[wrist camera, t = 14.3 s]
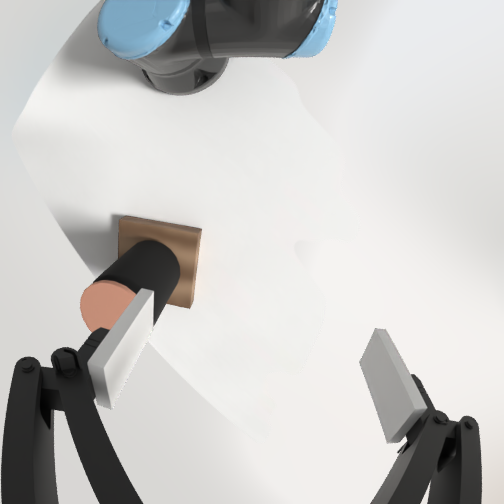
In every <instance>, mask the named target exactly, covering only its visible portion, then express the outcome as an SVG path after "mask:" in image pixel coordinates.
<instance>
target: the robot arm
mask: <svg viewBox="0 0 504 504" xmlns="http://www.w3.org/2000/svg"><path fill="white" fill-rule="evenodd" d="M337 3H338V0H106V1H105V2H104V4H103V6H102V8H101V11H100V14H99V17H98V23H97V29H98V35H99V38H100V40H101V42H102V43H103V45H104V46H105V47H106V48H108V49H109V50H110V51H112V53H114V54H115V56H117V57H119V58H121V59H122V58H123V59H125V60H127V61H129V62H131V63H133V64H135V65H137V66H139V67H141V68H142V71H143V73H144V75H145V77H146V79H147V80H148V81H149V82H150V83H151V84H152V85H153V86H154V87H156V88H157V89H159V90H161V91H163V92H165V93H168V94H172V95H189V94H194V93H197V92H200V91H202V90H204V89H206V88H207V87H209V86H210V85H212V84H213V83H214V82H215V81H216V80H217V79H218V78H219V77H220V76H221V75H222V73H223V72H224V70H225V68H226V66H227V63H228V60H229V57H276V58H283V59H284V58H286V59H287V58H290V57H312V56H315V55H317V54H318V53H320V52H321V51H322V50H323V48H324V47H325V46H326V44H327V42H328V40H329V38H330V36H331V33H332V30H333V27H334V24H335V19H336V16H335V11H336V9H337ZM153 306H154V291H152V290H147V289H143V288H141V290H140V291H139V292H138V293H137V295H136V296H135V297H134V299H133V300H132V301H131V303H130V304H129V305H128V307H127V308H126V309H125V311H124V312H123V313H122V315H121V316H120V317H119V319H118V320H117V321H116V323H115V324H114V326H113V327H112V328H111V330H109V329H106V328H102V327H100V328H98V329H96V330H95V331H93V332H92V333H91V335H90V336H89V337H88V339H87V340H86V341H85V342H84V344H83V345H82V346H81V348H80V349H79V350H78V352H77V351H76V350H74V349H72V348H69V347H63V348H60V349H57V350H56V351H54V352H53V354H52V355H51V362H52V365H53V368H49V367H41V365H40V363H39V361H38V360H37V359H35V358H34V357H24V358H21V359H20V360H19V361H18V362H17V363H16V365H15V368H14V373H13V378H12V383H11V388H10V393H9V398H8V404H7V411H6V418H5V426H4V435H3V446H2V464H1V496H2V497H1V498H2V504H59V503H58V495H57V487H56V475H55V459H54V410H59V411H64V412H65V415H66V419H67V422H68V425H69V428H70V431H71V435H72V438H73V441H74V444H75V446H76V449H77V452H78V455H79V457H80V460H81V462H82V465H83V468H84V470H85V472H86V475H87V477H88V480H89V482H90V484H91V486H92V489H93V491H94V493H95V495H96V497H97V499H98V501H99V503H100V504H143V502H142V501H141V499H140V497H139V496H138V494H137V492H136V491H135V489H134V487H133V485H132V484H131V482H130V480H129V478H128V476H127V474H126V472H125V471H124V469H123V467H122V465H121V463H120V461H119V459H118V457H117V455H116V453H115V451H114V449H113V446H112V444H111V442H110V440H109V437H108V435H107V433H106V431H105V428H104V426H103V424H102V421H101V419H100V416H99V414H98V412H97V409H96V406H95V404H94V399H95V397H96V401H97V404H98V405H101V406H103V407H106V408H109V409H113V407H114V405H115V403H116V401H117V399H118V397H119V395H120V393H121V391H122V389H123V386H124V384H125V383H126V381H127V379H128V377H129V375H130V373H131V371H132V369H133V367H134V365H135V363H136V361H137V359H138V357H139V356H140V354H141V352H142V350H143V348H144V346H145V344H146V342H147V340H148V339H149V337H150V335H151V333H152V331H153ZM360 366H361V369H362V371H363V374H364V377H365V379H366V382H367V385H368V388H369V390H370V393H371V396H372V399H373V402H374V405H375V408H376V411H377V413H378V417H379V420H380V423H381V425H382V428H383V431H384V435H385V438H386V441H387V443H398V442H400V441H401V440H402V439H403V438H404V437H405V435H406V438H407V440H408V441H407V442H406V443H405V444H404V445H403V446H402V447H401V449H400V450H399V451H398V452H397V453H399V452H400V451H401V452H400V454H399V456H398V457H397V459H396V461H395V463H394V465H393V467H392V469H391V470H390V472H389V474H388V476H387V477H386V479H385V481H384V483H383V484H382V486H381V488H380V489H379V491H378V493H377V494H376V496H375V497H374V499H373V500H372V502H371V503H370V504H420V503H421V501H422V499H423V497H424V495H425V492H426V490H427V488H428V485H429V483H430V480H431V484H430V491H429V497H428V503H427V504H481V497H482V466H481V448H480V435H479V426H478V423H477V422H476V420H475V419H474V418H472V417H470V416H464V417H462V419H461V420H460V421H459V422H456V421H450V420H449V418H448V417H447V415H446V414H445V413H443V412H441V411H438V410H435V408H434V406H433V404H432V402H431V400H430V398H429V396H428V394H427V393H426V391H425V389H424V388H423V385H422V383H421V381H420V380H419V379H418V378H417V377H416V376H415V375H414V374H410V373H409V371H408V369H407V367H406V365H405V363H404V361H403V359H402V358H401V356H400V354H399V352H398V350H397V349H396V347H395V345H394V343H393V341H392V339H391V338H390V336H389V334H388V332H387V331H386V330H385V329H377V328H375V330H374V332H373V335H372V337H371V339H370V341H369V343H368V345H367V348H366V350H365V352H364V354H363V356H362V358H361V360H360Z"/></svg>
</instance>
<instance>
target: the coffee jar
mask: <svg viewBox="0 0 504 504" xmlns="http://www.w3.org/2000/svg"><path fill="white" fill-rule="evenodd" d="M179 278H180V265H179V262H178V259H177V257H176V255H175V254H174V253H173V252H172V250H171V249H170V248H168V247H167V246H166V245H164V244H163V243H160V242H157V241H153V240H144V241H141V242H138V243H136V244H135V245H134V246H133V247H131V248H130V249H129V250H128V251H127V252H126V253H124V254H123V255H122V256H121V257H120V258H119V259H118V260H117V261H115V262H114V263H113V264H112V265H111V266H110V267H109V268H108V269H107V270H105V271H104V272H103V273H102V274H101V275H100V276H99V277H98V278H97V279H96V280H95V281H94V282H93V284H91V285H90V286H89V287H88V288H86V289H85V290H84V292H83V295H82V297H81V302H80V309H81V313H82V317H83V320H84V321H85V323H86V325H87V327H88V328H89V330H90V331H91V332H93V331H95V330H96V329H98V328H100V327H102V328H106V329H109V330H111V328H112V327H113V326H114V324H115V323H116V321H117V320H118V319H119V317H120V316H121V315H122V313H123V312H124V311H125V309H126V308H127V307H128V305H129V304H130V303H131V301H132V300H133V299H134V297H135V296H136V295H137V293H138V292H139V291H140V290H141V288H143V289H147V290H152V291H154V306H153V327H154V325H155V323H156V321H157V319H158V318H159V316H160V314H161V312H162V310H163V309H164V307H165V305H166V303H167V301H168V300H169V298H170V296H171V294H172V293H173V291H174V289H175V287H176V286H177V284H178V282H179Z"/></svg>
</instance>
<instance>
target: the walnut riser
mask: <svg viewBox="0 0 504 504" xmlns="http://www.w3.org/2000/svg"><path fill="white" fill-rule="evenodd" d="M201 231H202V229H199V228H194V227H188V226H183V225H177V224H171V223H165V222H160V221H154V220H148V219H142V218H137V217H131V216H125V217H123V218H121V219H120V220H119V238H118V259H119V258H120V257H121V256H122V255H123V254H124V253H126V252H127V251H128V250H129V249H130V248H131V247H133V246H134V245H135V244H136V243H138V242H141V241H144V240H153V241H157V242H160V243H163V244H164V245H166V246H167V247H168V248H170V249H171V250H172V252H173V253H174V254H175V255H176V257H177V259H178V262H179V265H180V278H179V282H178V284H177V286H176V287H175V289H174V291H173V293H172V294H171V296H170V298H169V300H168V301H167V303H166V304H170V305H175V306H179V307H184V308H189V309H190V308H191V305H192V303H193V299H194V289H195V280H196V271H197V263H198V255H199V247H200V239H201Z"/></svg>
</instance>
